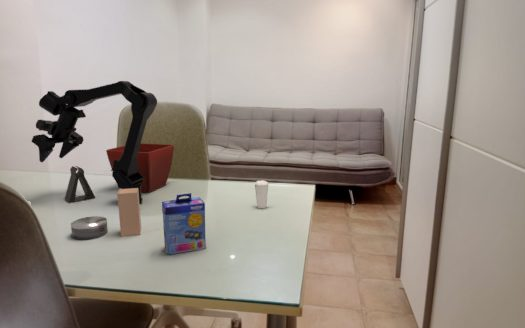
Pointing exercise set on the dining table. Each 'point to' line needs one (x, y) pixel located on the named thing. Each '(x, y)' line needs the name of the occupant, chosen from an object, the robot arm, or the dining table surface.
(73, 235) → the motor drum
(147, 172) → the plant pot
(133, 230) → the tan rectangular block
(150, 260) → the dining table surface
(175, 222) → the ink cartridge box
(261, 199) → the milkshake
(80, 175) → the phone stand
